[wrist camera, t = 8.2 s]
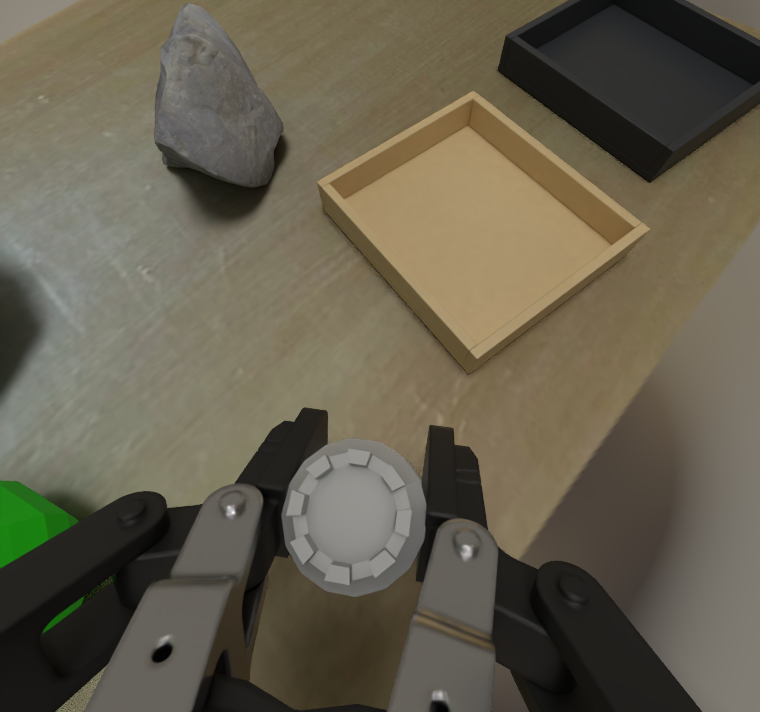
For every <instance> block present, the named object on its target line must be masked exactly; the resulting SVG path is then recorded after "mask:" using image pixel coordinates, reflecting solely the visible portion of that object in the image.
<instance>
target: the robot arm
mask: <svg viewBox="0 0 760 712" xmlns="http://www.w3.org/2000/svg"><path fill="white" fill-rule="evenodd" d="M327 444H328V413H327V411H326V410H319V409H312V408H305V407H304V408H303V409H302V410H301V412H300V413H299V415H298V417H297V418H296V420H295V422H291V421H284V422H282V423H281V424H279V425H278V426H276V427H275V428H273V429H272V430H271V431H270V433H269V434H268V436H267V437H266V439H265V441H264V442H263V443H262V444H261V446H260V447H259V449H258V451H257V452H256V453H255V455H254V456H253V458H252V459H251V460H250V462H249V463H248V465H247V466H246V468H245V469H244V471H243V472H242V473H241V475H240V476H239V478H238V479H237V481H236V482H235V484H231V485H227V486H224V487H222V488H220V489H218V490H216V491H214V492H213V493H212V494H211V495H209V496H208V497H207V499H206V500H205V501H204V503H203V504H200V505H194V506H184V507H174V508H167V504H166V500H165V498H164V497H163V496H162V495H160V494H159V493H156V492H150V491H143V492H136V493H132V494H129V495H126V496H123V497H121V498H119V499H117V500H115V501H114V502H112V503H110V504H109V505H107V506H105V507H103V508H102V509H100V510H98V511H97V512H95V513H93V514H92V515H90V516H88V517H87V518H85V519H83V520H81V521H80V522H78V523H76V524H75V525H73V526H71V527H70V528H68V529H66V530H65V531H63V532H61V533H59V534H58V535H56V536H54V537H53V538H51V539H49V540H48V541H46V542H44V543H43V544H41V545H39V546H37V547H36V548H34V549H32V550H31V551H29V552H27V553H26V554H24V555H22V556H21V557H19V558H17V559H15V560H14V561H12V562H10V563H9V564H7V565H5V566H4V567H2V568H0V712H55V711H56V710H57V709H59V708H60V707H61V706H62V705H63V704H64V703H65V702H66V701H67V700H69V699H70V698H71V697H72V696H73V695H74V694H75V693H76V692H77V691H79V690H80V689H81V688H82V687H83V686H84V685H85V684H86V683H87V682H89V681H90V680H91V679H92V678H93V677H94V676H95V675H96V674H97V673H99V672H100V671H101V670H102V669H103V668H104V667H105V666H106V665H107V664H108V665H107V667H106V669H105V671H104V673H103V675H102V677H101V679H100V681H99V683H98V685H97V687H96V689H95V691H94V693H93V694H92V696H91V698H90V700H89V702H88V704H87V706H86V708H85V710H84V712H492V703H493V687H494V672H495V661H496V662H498V663H499V664H501V665H503V666H505V667H506V668H508V669H510V671H511V674H512V676H513V678H514V681H515V683H516V685H517V687H518V689H519V691H520V693H521V695H522V697H523V699H524V701H525V703H526V705H527V708H528V710H529V712H702V711H701V710H700V708H699V707H698V706H697V705H696V703H695V702H694V701H693V700H692V698H691V697H690V696H689V695H688V694H687V692H686V691H685V690H684V688H683V687H682V686H681V685H680V684H679V682H678V681H677V680H676V679H675V677H674V676H673V675H672V673H671V672H670V671H669V670H668V669H667V667H666V666H665V665H664V663H663V662H662V661H661V660H660V658H659V657H658V656H657V655H656V654H655V652H654V651H653V650H652V648H651V647H650V646H649V645H648V644H647V642H646V641H645V640H644V639H643V637H642V636H641V635H640V634H639V632H638V631H637V630H636V629H635V627H634V626H633V625H632V624H631V622H630V621H629V620H628V619H627V617H626V616H625V615H624V614H623V612H622V611H621V610H620V609H619V607H618V606H617V605H616V604H615V602H614V601H613V600H612V599H611V597H610V596H609V595H608V594H607V592H606V591H605V590H604V589H603V587H602V586H601V585H600V584H599V583H598V582H597V580H596V579H595V578H593V577H592V576H591V575H590V574H589V573H587V572H586V571H585V570H583V569H581V568H580V567H578V566H575V565H573V564H570V563H567V562H563V561H550V562H547V563H545V564H543V565H542V566H541V567H540V568H539V570H538V569H536V568H534V567H531V566H529V565H527V564H525V563H523V562H520V561H518V560H516V559H514V558H512V557H511V556H509V555H508V554H506V553H505V552H504V551H503V550H501V549H500V548H499V547H498V546H497V543H496V541H495V539H494V537H493V536H492V535H491V533H490V532H489V531H488V527H487V520H486V513H485V506H484V499H483V492H482V486H481V478H480V474H479V473H480V471H479V464H478V459H477V457H476V456H475V454H474V453H473V452H472V450H471V449H470V447H466V446H459V445H454V429H453V428H449V427H442V426H435V425H430V426H429V432H428V439H427V445H426V452H425V459H424V466H423V475H422V490H423V493H424V497H425V501H426V504H427V509H426V519H425V527H426V529H425V539H424V542H423V544H422V546H421V548H420V550H419V552H418V555H417V572H416V581H418V582H423V585H422V589H421V593H420V597H419V601H418V604H417V608H416V611H414V613H413V616H412V620H411V623H410V627H409V630H408V634H407V638H406V642H405V645H404V649H403V653H402V656H401V660H400V664H399V668H398V671H397V675H396V679H395V682H394V686H393V690H392V694H391V697H390V701H389V705H388V708H387V710H383V709H379V708H374V707H369V706H365V705H360V704H354V705H345V706H337V707H328V708H319V709H310V710H295V709H293V708H291V707H289V706H288V705H286V704H284V703H283V702H281V701H280V700H278V699H276V698H275V697H273V696H272V695H270V694H268V693H267V692H265V691H263V690H262V689H260V688H259V687H257V686H255V685H254V684H252V683H251V682H249V681H250V667H251V659H252V654H253V649H254V645H255V640H256V635H257V631H258V626H259V622H260V617H261V613H262V608H263V603H264V599H265V594H266V590H267V585H268V580H269V572H268V571H269V569H270V566H271V564H272V562H273V560H274V557H275V556H280V557H286V558H288V556H289V551H288V549H287V548H286V545H285V538H284V530H283V523H282V516H281V515H282V511H283V506H284V503H285V500H286V495H287V491H288V487H289V484H290V482H291V480H292V479H293V477H294V476H295V474H296V473H297V471H298V470H299V468H300V467H301V465H302V464H303V462H304V461H305V460H306V459H308V458H309V457H310V456H312V455H313V454H314V453H316V452H317V451H319V450H320V449H321V448H323V447H324V446H325V445H327ZM110 576H111V577H112V580H113V582H112V583H110V584H109V585H108V586H106V587H105V588H104V589H102V590H101V591H100V592H98V593H97V594H96V595H94V596H93V597H92V598H90V599H89V600H88V601H86V602H85V603H84V604H82V605H81V606H80V607H78V608H77V609H76V610H74V611H73V612H72V613H70V614H69V615H68V616H66V617H65V618H64V619H62V620H61V621H60V622H58V623H57V624H56V625H54V626H53V627H52V628H50V629H49V630H47V631H46V632H44V633H42V632H43V631H44V629H45V628H46V626H47V625H48V624H49V623H50V622H51V621H52V620H53V619H54V618H55V617H56V616H57V615H59V614H60V613H61V612H63V611H64V610H66V609H67V608H68V607H70V606H71V605H72V604H74V603H75V602H76V601H78V600H79V599H80V598H82V597H83V596H85V595H86V594H87V593H89V592H90V591H91V590H93V589H94V588H95V587H97V586H98V585H100V584H101V583H102V582H104V581H105V580H106V579H108V578H109V577H110Z"/></svg>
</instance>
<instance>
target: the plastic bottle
mask: <svg viewBox="0 0 760 712" xmlns="http://www.w3.org/2000/svg"><path fill="white" fill-rule="evenodd" d="M76 523H78V520H77V519H76V518H74V517H73V516H71V515H70V514H68V513H67V512H65V511H64V510H62V509H61V508H59V507H58V506H56V505H54V504H53V503H51V502H50V501H48V500H47V499H45V498H44V497H42V496H41V495H39V494H38V493H36V492H35V491H33V490H31V489H30V488H28V487H26V486H25V485H23V484H21V483H20V482H17V481H0V568H2V567H4V566H5V565H7V564H9V563H10V562H12V561H14V560H15V559H17V558H19V557H21V556H22V555H24V554H26V553H27V552H29V551H31V550H32V549H34V548H36V547H37V546H39V545H41V544H43V543H44V542H46V541H48V540H49V539H51V538H53V537H54V536H56V535H58V534H59V533H61V532H63V531H65V530H66V529H68V528H70V527H71V526H73V525H75V524H76ZM83 599H84V596H83V597H82V598H80V599H79V600H78V601H76V602H75V603H74V604H72V605H71V606H70V607H68V608H67V609H66V610H64V611H63V612H61V613H60V614H59V615H57V616H56V617H55V618H54V619H53V620H52V621H51V622H50V623H49V624H48V625H47V626H46V628H45V629H44V631H43V632H42V633H44V632H46V631H47V630H49V629H50V628H52V627H53V626H54V625H56V624H57V623H58V622H60V621H61V620H62V619H64V618H65V617H66V616H68V615H69V614H70V613H72V612H73V611H74V610H76V609H77V608H78V607H80V606H81V604H82V602H83Z"/></svg>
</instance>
